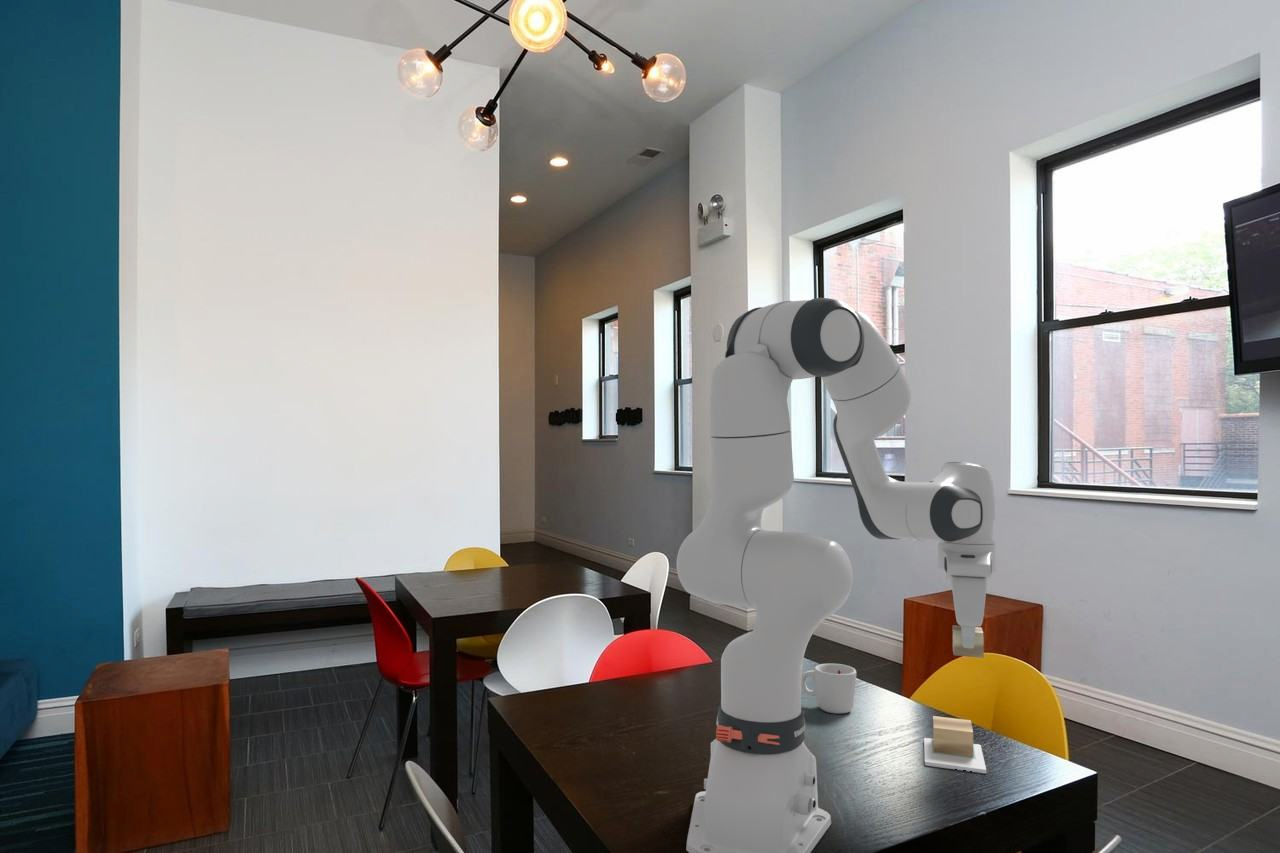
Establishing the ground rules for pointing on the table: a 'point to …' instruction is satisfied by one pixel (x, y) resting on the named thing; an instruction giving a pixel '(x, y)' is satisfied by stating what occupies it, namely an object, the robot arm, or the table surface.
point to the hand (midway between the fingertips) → (967, 643)
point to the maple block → (974, 652)
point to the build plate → (954, 759)
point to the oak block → (953, 736)
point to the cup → (832, 687)
